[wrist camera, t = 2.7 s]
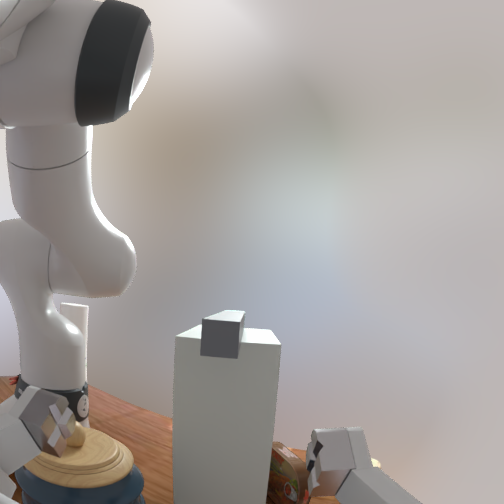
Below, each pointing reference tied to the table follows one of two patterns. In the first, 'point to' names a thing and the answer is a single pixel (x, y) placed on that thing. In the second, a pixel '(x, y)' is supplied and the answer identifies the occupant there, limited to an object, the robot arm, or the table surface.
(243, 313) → the teal-tipped grey bar
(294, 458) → the tin
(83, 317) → the cylindrical container
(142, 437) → the table surface
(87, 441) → the canister
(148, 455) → the table surface
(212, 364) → the pedestal
